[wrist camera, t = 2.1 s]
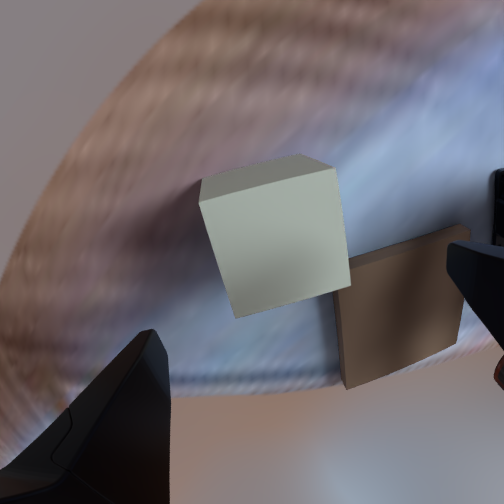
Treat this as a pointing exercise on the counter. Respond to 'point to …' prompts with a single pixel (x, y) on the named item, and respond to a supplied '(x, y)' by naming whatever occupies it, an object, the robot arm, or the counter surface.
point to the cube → (276, 232)
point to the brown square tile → (397, 307)
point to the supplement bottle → (500, 373)
